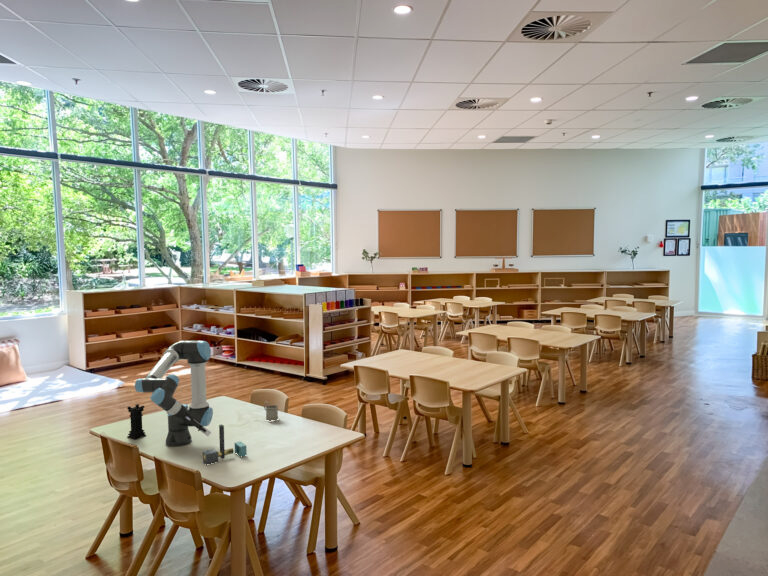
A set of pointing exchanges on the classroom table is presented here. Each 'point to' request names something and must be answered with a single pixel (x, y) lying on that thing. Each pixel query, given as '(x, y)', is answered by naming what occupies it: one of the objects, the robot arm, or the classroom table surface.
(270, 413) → the mug
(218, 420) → the classroom table surface
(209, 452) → the graphite sleeve
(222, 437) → the dark grey post stand
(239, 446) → the teal socket block
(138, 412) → the chess piece
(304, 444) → the classroom table surface
